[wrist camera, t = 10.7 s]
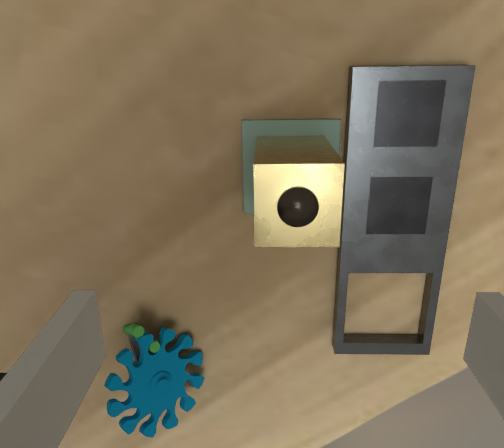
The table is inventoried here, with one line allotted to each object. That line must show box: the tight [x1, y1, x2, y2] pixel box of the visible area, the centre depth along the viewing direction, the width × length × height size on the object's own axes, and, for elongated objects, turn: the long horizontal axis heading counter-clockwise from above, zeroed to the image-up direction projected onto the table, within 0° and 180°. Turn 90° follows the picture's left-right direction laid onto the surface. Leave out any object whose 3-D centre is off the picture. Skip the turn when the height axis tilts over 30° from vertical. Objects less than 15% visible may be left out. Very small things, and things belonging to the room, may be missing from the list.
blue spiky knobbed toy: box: [105, 323, 204, 437], centre depth 42 cm, size 11×6×10 cm
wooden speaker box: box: [254, 135, 345, 247], centre depth 32 cm, size 6×6×10 cm
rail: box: [332, 65, 475, 355], centre depth 38 cm, size 9×26×2 cm, turn 1°
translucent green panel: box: [242, 119, 341, 213], centre depth 37 cm, size 8×8×1 cm
